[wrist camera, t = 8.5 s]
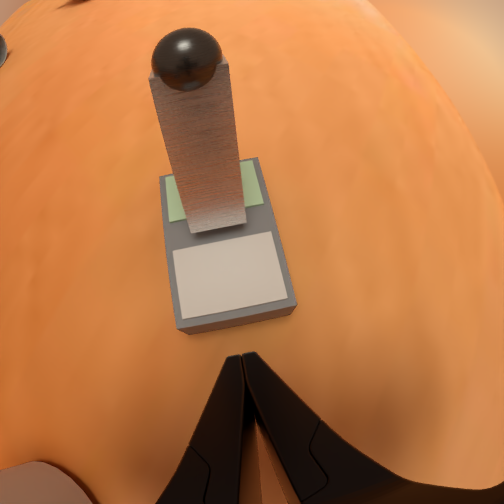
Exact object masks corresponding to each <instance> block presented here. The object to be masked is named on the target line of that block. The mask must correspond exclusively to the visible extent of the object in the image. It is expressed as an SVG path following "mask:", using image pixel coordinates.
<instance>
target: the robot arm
mask: <svg viewBox="0 0 504 504" xmlns="http://www.w3.org/2000/svg"><path fill="white" fill-rule="evenodd" d="M255 419H256V421H255ZM256 422H257V425H258V428H259V431H260V434H261V437H262V439H263V442H264V444H265V447H266V450H267V452H268V455H269V457H270V460H271V462H272V465H273V467H274V470H275V472H276V475H277V477H278V480H279V482H280V485H281V487H282V490H283V492H284V494H285V497H286V499H287V502H288V504H504V481H503V482H502V483H500V484H499V485H497V486H494V487H491V488H488V489H482V490H472V489H461V488H452V487H444V486H437V485H430V484H424V483H418V482H414V481H410V480H407V479H405V478H402V477H400V476H398V475H396V474H395V473H393V472H391V471H390V470H388V469H387V468H385V467H383V466H382V465H380V464H379V463H377V462H376V461H374V460H373V459H371V458H370V457H368V456H367V455H365V454H364V453H362V452H361V451H359V450H358V449H356V448H355V447H354V446H352V445H351V444H349V443H348V442H347V441H345V440H344V439H343V438H342V437H341V436H339V435H338V434H337V433H336V432H335V431H334V430H333V429H331V428H330V427H329V426H328V425H327V424H326V423H325V422H324V421H323V420H321V418H320V417H319V416H318V415H317V414H316V413H315V412H314V411H313V410H312V409H311V408H310V407H309V406H308V405H307V404H306V403H305V402H304V401H303V400H302V399H301V398H300V397H299V396H298V395H297V394H296V393H295V392H294V391H293V390H292V389H291V388H290V387H289V386H288V385H287V384H286V383H285V382H284V381H283V380H282V379H281V378H280V377H279V376H278V375H277V374H276V373H275V372H274V371H273V370H272V369H271V367H270V366H269V365H268V364H267V363H266V362H265V361H264V360H263V359H262V358H261V357H260V356H259V355H258V354H257V353H256V352H254V351H253V352H248V353H243V354H242V357H241V355H239V354H238V355H233V356H228V357H227V358H226V360H225V362H224V364H223V367H222V369H221V371H220V374H219V376H218V378H217V380H216V383H215V385H214V387H213V390H212V392H211V394H210V397H209V399H208V401H207V404H206V406H205V408H204V410H203V413H202V415H201V417H200V419H199V422H198V424H197V426H196V429H195V431H194V433H193V435H192V438H191V440H190V442H189V446H187V448H186V451H185V453H184V455H183V457H182V459H181V461H180V463H179V465H178V467H177V469H176V471H175V473H174V475H173V476H172V478H171V480H170V482H169V483H168V485H167V486H166V488H165V490H164V491H163V493H162V494H161V496H160V497H159V499H158V500H157V502H156V503H155V504H262V497H261V484H260V470H259V457H258V443H257V429H256Z"/></svg>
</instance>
